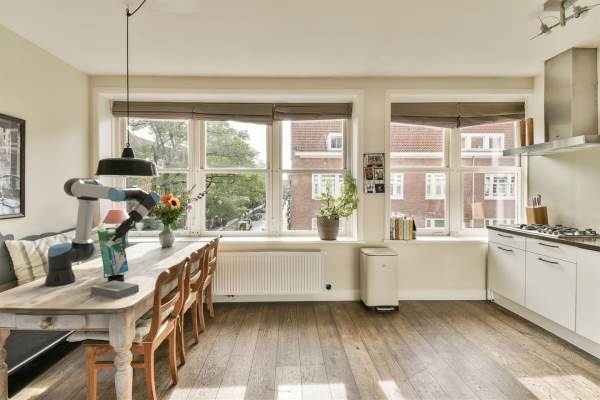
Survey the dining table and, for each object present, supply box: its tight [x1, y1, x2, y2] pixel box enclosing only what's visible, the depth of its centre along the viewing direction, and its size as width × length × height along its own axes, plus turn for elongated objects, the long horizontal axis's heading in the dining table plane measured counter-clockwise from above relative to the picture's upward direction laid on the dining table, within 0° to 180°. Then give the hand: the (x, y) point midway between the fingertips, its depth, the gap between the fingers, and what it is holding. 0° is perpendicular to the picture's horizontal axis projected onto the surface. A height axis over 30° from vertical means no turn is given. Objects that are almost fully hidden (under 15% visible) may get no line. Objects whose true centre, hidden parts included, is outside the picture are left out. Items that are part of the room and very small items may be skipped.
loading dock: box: [90, 280, 140, 300], centre depth 184 cm, size 20×14×4 cm
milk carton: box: [97, 227, 129, 276], centre depth 187 cm, size 9×9×25 cm
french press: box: [103, 272, 125, 283], centre depth 205 cm, size 12×9×23 cm
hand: (106, 245), depth 180 cm, fingers closed on milk carton, 2 cm apart
